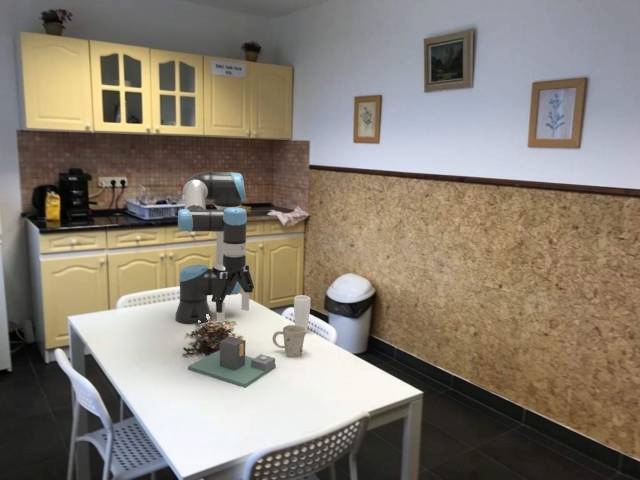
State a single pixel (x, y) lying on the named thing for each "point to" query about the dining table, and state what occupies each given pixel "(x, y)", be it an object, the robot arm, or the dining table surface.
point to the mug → (291, 339)
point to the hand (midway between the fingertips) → (233, 315)
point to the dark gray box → (232, 353)
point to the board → (241, 376)
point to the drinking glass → (302, 311)
